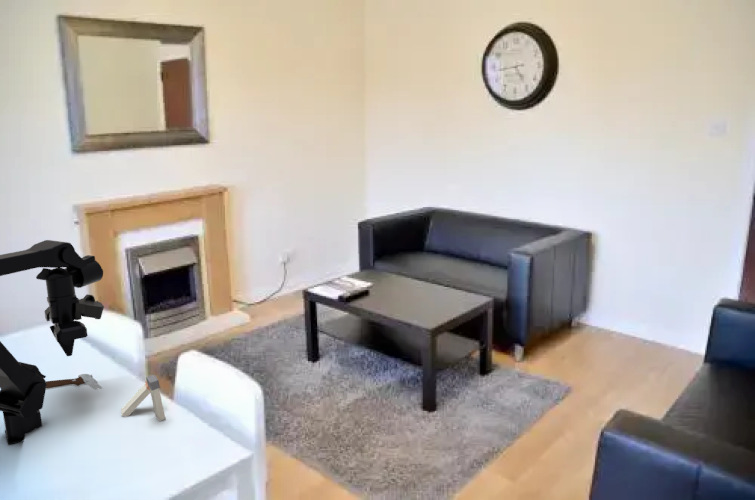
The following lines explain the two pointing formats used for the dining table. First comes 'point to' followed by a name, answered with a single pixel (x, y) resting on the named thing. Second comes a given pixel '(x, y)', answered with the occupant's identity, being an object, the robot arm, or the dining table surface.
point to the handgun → (74, 382)
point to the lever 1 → (135, 400)
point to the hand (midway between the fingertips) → (69, 355)
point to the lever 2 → (156, 396)
